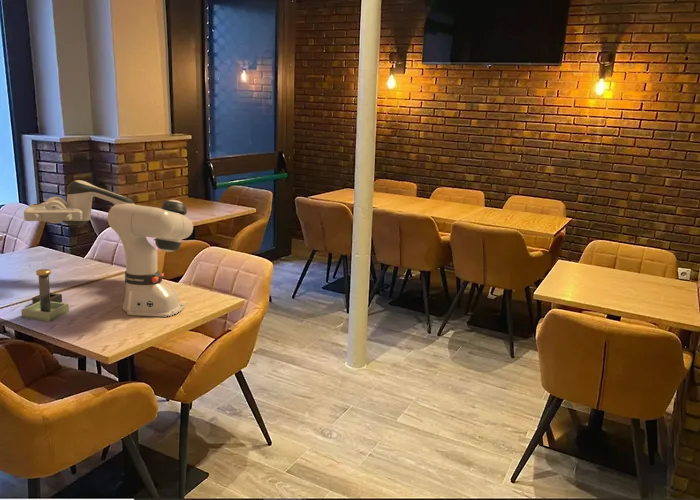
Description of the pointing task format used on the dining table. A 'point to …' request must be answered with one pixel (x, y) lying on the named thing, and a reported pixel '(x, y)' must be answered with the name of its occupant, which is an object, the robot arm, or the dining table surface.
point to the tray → (37, 314)
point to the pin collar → (53, 298)
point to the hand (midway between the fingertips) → (53, 218)
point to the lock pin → (44, 289)
